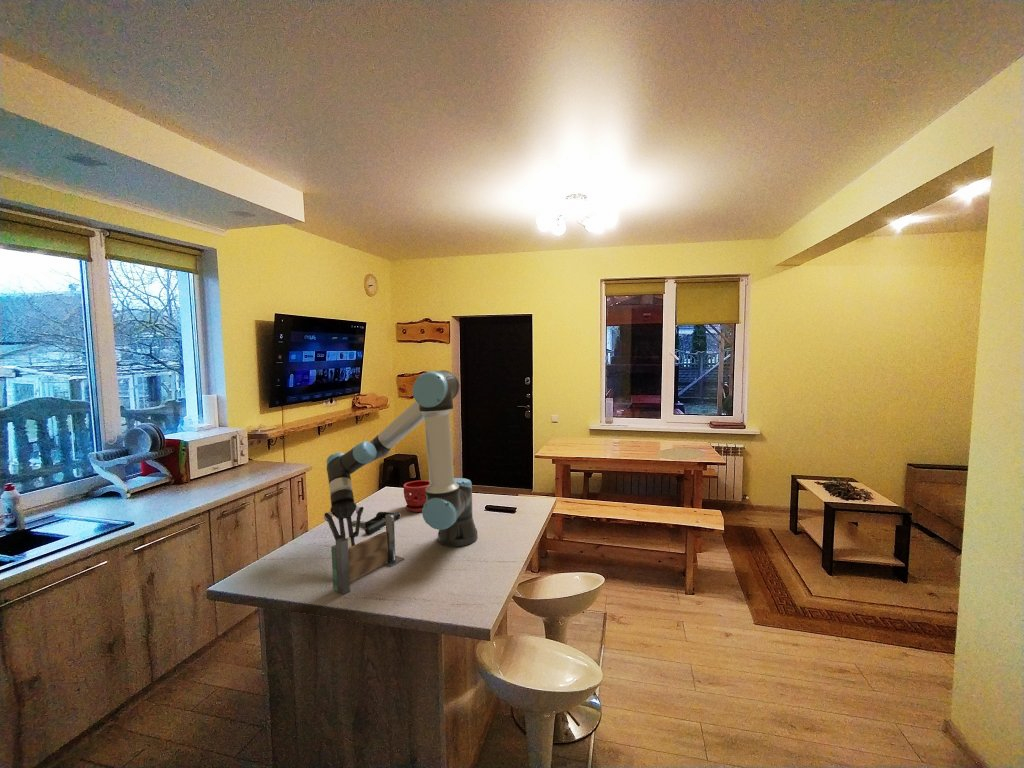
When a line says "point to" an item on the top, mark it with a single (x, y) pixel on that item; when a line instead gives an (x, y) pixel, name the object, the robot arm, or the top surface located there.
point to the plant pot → (415, 495)
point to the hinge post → (391, 542)
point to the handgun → (377, 522)
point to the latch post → (342, 566)
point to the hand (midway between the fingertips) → (350, 558)
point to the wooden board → (363, 557)
